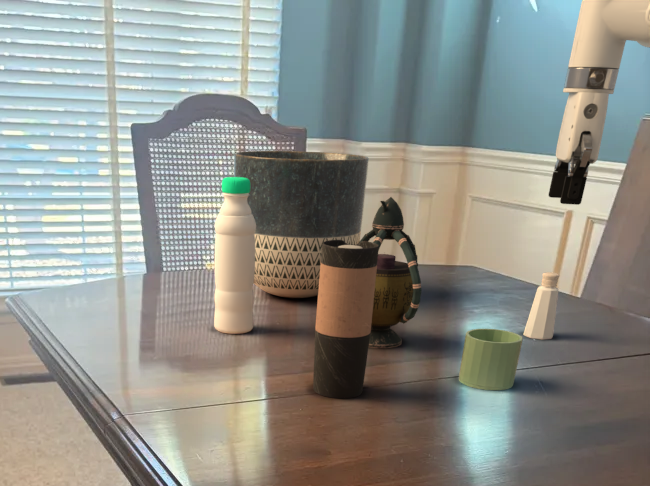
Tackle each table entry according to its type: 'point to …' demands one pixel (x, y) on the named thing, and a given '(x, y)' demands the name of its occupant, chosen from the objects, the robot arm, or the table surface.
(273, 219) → the planter
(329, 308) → the travel mug
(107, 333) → the table surface
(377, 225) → the teapot
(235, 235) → the water bottle
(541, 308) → the salt shaker
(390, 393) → the table surface
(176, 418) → the table surface
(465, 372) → the cup
